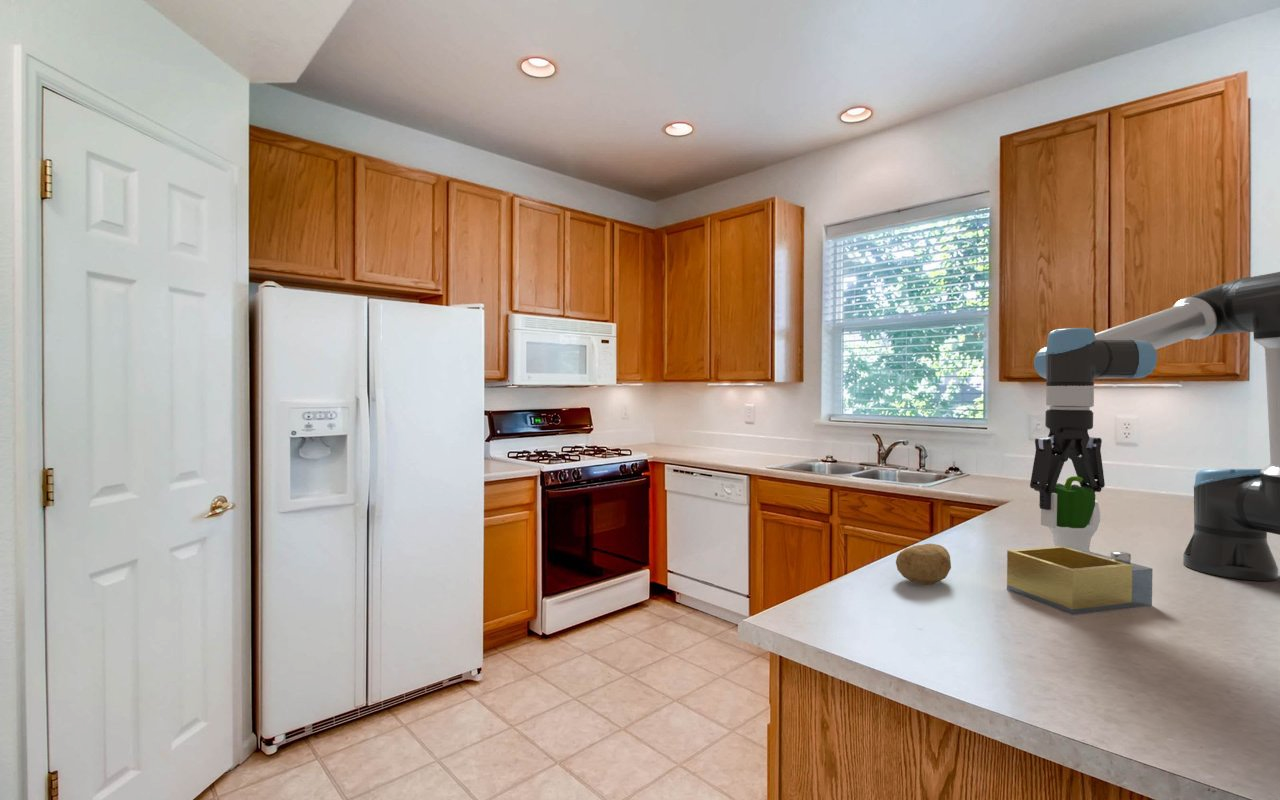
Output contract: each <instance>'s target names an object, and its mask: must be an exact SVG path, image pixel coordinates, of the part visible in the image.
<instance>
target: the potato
mask: <svg viewBox="0 0 1280 800" xmlns="http://www.w3.org/2000/svg"><path fill="white" fill-rule="evenodd" d="M895 565H896V568H897V571H898V573H900V575H901V576H902V577H903V578H905V579H906V580H909V581H910V582H911V583H916V584H920V585H927V586H928V585H930V586H931V585H935V584H937V583H938V582H940V581H943V580H944V579H946V578H947V576H948V574H949V573H950V571H951V569H952V563H951V556H950V553H949V551H948V549H947V548H946V547H944V546H943V545H940V544H935V543H925V544H924V543H923V544H918V545H917V544H916V545H913V546H910V547H907V548H905V549H902V551H900V552H899V553H898V555H897V556H896V560H895Z"/></svg>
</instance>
